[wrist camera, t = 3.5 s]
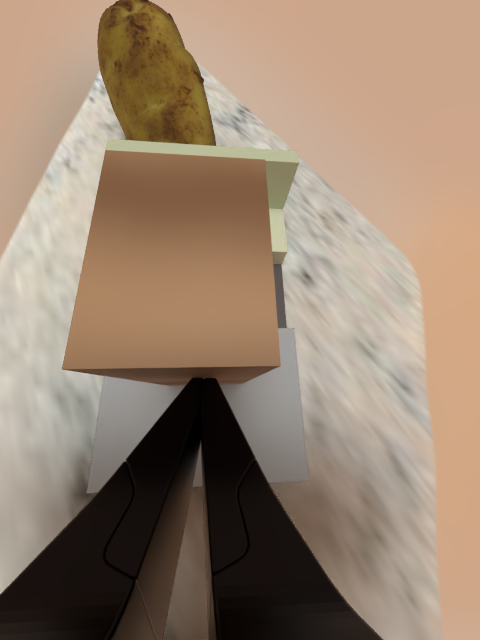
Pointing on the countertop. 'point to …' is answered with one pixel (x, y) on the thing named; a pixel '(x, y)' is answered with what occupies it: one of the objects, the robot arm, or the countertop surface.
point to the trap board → (244, 399)
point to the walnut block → (177, 272)
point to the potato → (152, 76)
